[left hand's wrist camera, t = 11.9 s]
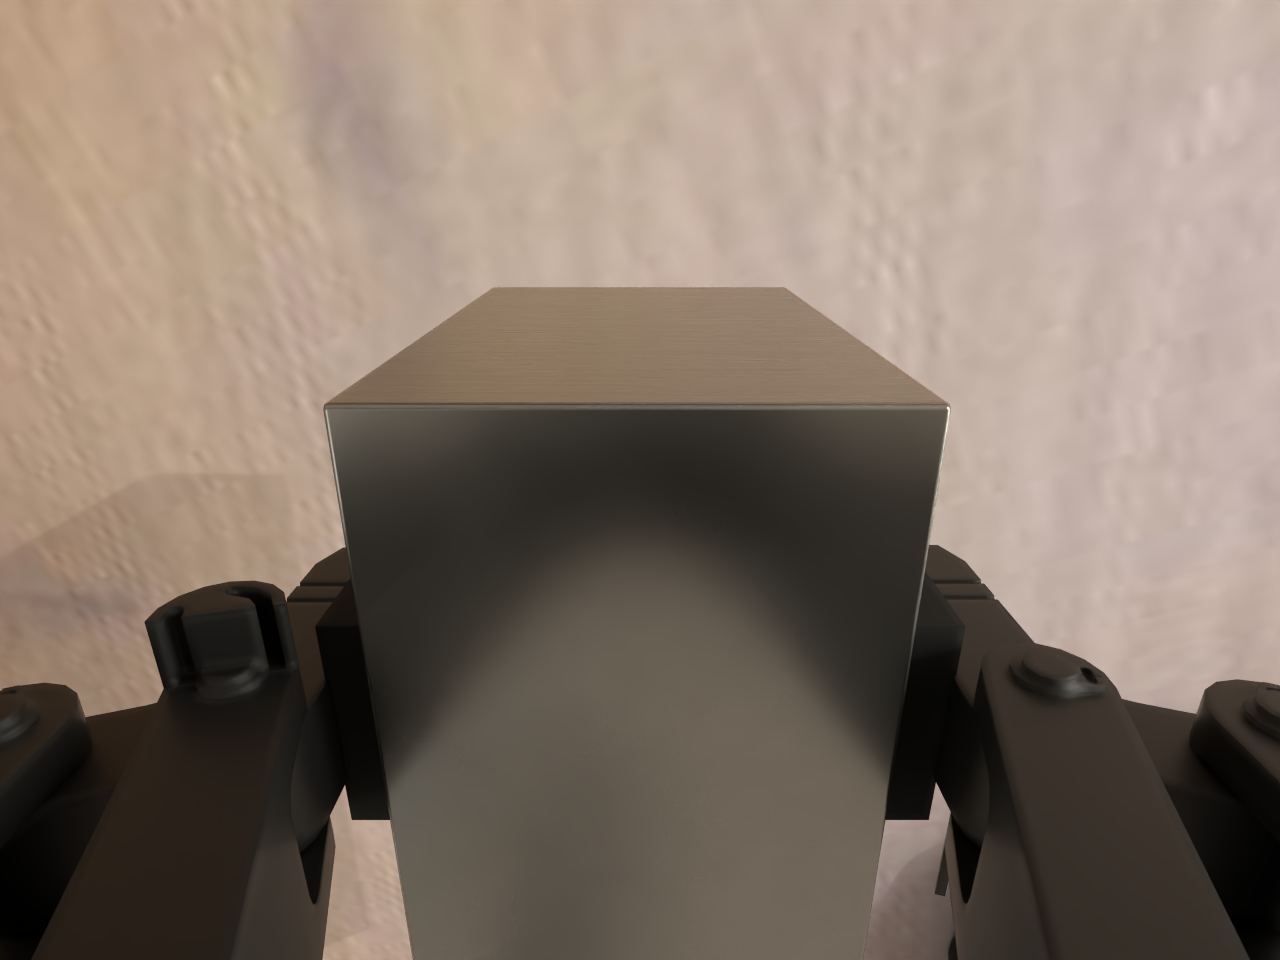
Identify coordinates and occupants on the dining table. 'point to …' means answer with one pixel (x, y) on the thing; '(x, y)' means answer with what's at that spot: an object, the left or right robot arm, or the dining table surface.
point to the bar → (637, 619)
